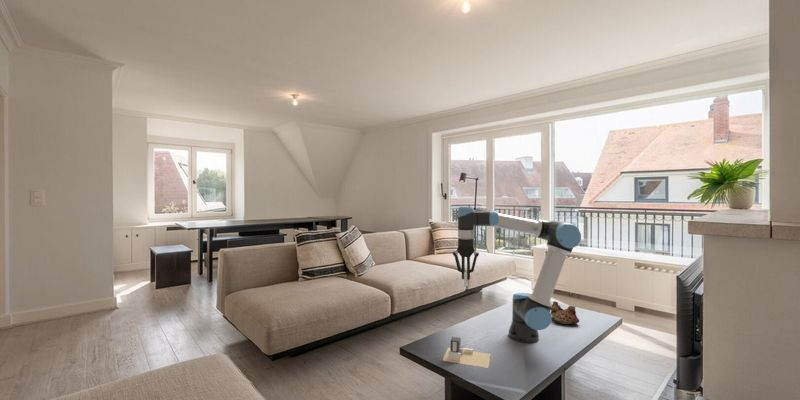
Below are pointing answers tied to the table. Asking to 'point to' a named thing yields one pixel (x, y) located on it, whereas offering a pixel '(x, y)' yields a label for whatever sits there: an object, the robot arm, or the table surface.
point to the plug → (455, 344)
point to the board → (468, 357)
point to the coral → (564, 314)
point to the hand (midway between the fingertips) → (465, 286)
